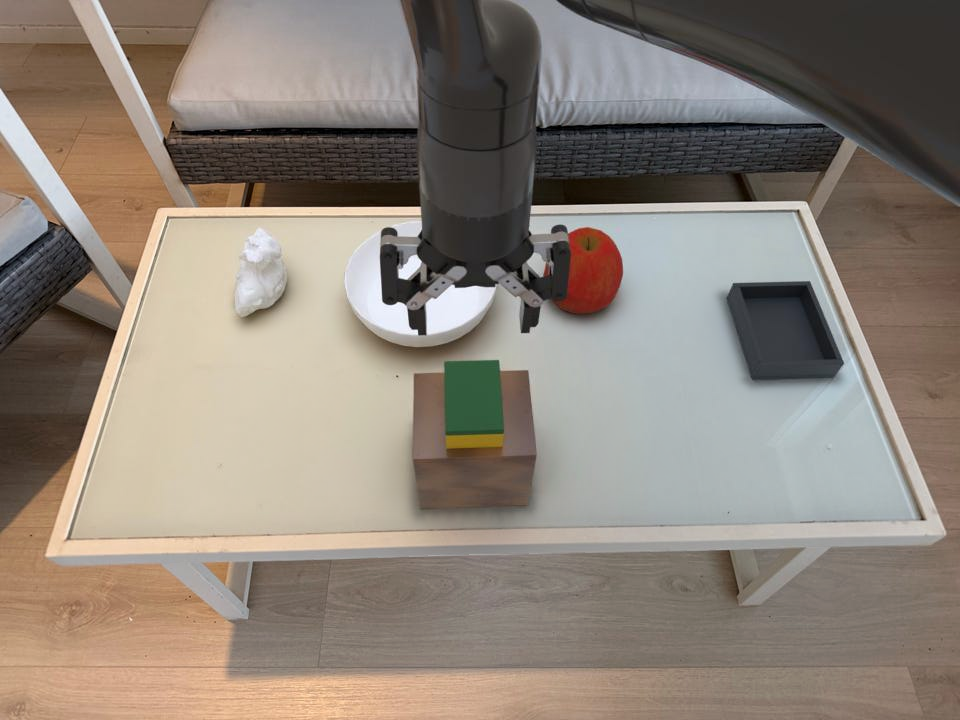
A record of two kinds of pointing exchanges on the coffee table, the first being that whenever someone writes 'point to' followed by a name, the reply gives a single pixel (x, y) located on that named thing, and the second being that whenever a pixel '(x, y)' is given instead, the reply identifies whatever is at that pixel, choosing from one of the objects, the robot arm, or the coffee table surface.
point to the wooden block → (473, 449)
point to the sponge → (473, 404)
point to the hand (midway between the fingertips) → (473, 326)
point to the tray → (783, 330)
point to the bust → (259, 274)
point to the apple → (591, 271)
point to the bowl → (390, 322)
